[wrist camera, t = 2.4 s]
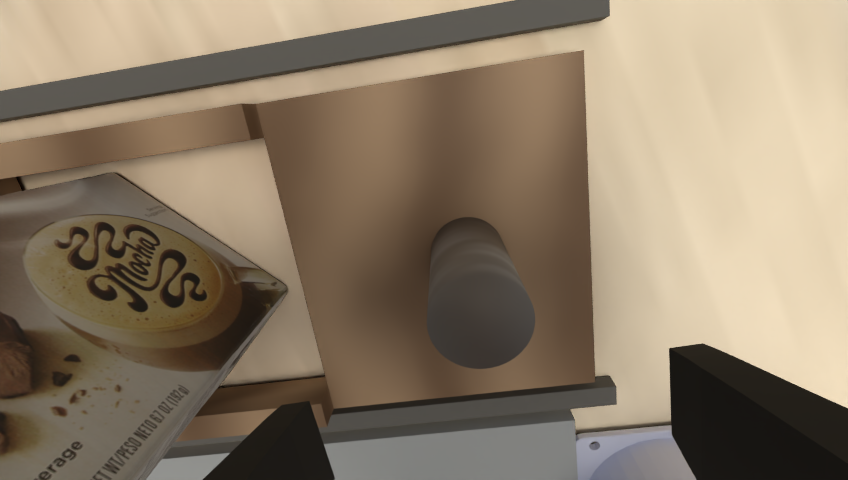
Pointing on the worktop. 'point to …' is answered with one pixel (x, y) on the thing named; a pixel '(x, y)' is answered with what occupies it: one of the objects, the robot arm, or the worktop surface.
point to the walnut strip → (405, 230)
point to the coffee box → (113, 328)
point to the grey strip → (425, 451)
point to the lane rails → (531, 11)
